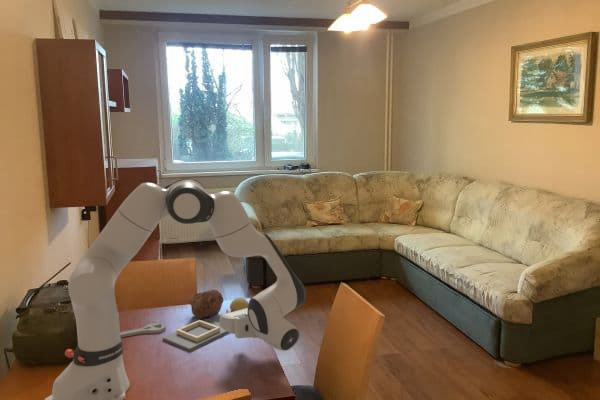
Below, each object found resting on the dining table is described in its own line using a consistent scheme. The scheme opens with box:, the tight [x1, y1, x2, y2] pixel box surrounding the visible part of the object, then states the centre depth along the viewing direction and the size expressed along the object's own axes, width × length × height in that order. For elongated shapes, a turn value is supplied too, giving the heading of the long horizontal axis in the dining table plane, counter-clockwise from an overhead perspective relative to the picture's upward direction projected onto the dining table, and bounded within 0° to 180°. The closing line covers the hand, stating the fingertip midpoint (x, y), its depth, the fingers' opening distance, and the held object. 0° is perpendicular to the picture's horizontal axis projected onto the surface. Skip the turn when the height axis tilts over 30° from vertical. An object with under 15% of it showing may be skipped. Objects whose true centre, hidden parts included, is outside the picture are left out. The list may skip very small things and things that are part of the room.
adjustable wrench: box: [120, 322, 167, 338], centre depth 182 cm, size 25×6×2 cm, turn 110°
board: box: [162, 317, 230, 352], centre depth 180 cm, size 20×14×2 cm
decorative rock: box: [188, 289, 224, 319], centre depth 197 cm, size 13×11×10 cm
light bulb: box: [229, 297, 249, 312], centre depth 171 cm, size 6×6×10 cm
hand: (238, 308), depth 172 cm, fingers closed on light bulb, 6 cm apart
